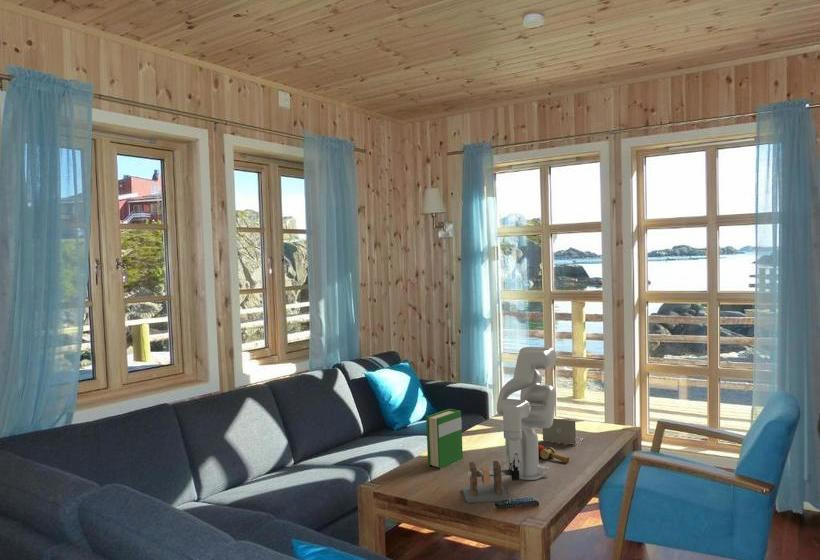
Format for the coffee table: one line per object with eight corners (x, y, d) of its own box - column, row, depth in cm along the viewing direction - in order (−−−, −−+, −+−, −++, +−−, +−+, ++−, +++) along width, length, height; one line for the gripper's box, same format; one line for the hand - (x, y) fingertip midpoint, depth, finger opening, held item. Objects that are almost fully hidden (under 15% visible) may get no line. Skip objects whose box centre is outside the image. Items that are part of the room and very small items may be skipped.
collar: (487, 479, 262) (486, 465, 262) (489, 485, 256) (489, 470, 256) (481, 480, 262) (481, 465, 262) (483, 485, 256) (483, 470, 256)
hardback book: (440, 469, 292) (438, 418, 292) (428, 466, 297) (426, 416, 297) (462, 459, 306) (461, 410, 305) (450, 456, 311) (449, 408, 310)
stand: (498, 487, 263) (497, 460, 263) (502, 494, 255) (501, 467, 255) (470, 488, 263) (469, 462, 262) (472, 495, 255) (471, 468, 254)
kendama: (572, 463, 298) (538, 451, 310) (572, 451, 296) (538, 439, 308) (564, 470, 293) (530, 458, 304) (564, 458, 291) (530, 446, 303)
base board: (502, 487, 266) (502, 484, 266) (508, 500, 252) (508, 496, 252) (462, 489, 266) (462, 486, 266) (466, 502, 252) (466, 499, 252)
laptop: (584, 440, 330) (583, 415, 330) (576, 446, 320) (575, 421, 320) (552, 435, 341) (551, 411, 340) (542, 441, 330) (542, 417, 330)
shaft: (517, 477, 261) (516, 463, 261) (519, 480, 257) (518, 466, 257) (468, 479, 261) (467, 465, 260) (469, 483, 257) (468, 468, 256)
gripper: (500, 428, 267) (501, 471, 267) (507, 440, 250) (509, 485, 251) (517, 428, 267) (519, 470, 268) (526, 439, 250) (527, 484, 251)
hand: (514, 477), depth 259 cm, fingers closed on shaft, 4 cm apart
